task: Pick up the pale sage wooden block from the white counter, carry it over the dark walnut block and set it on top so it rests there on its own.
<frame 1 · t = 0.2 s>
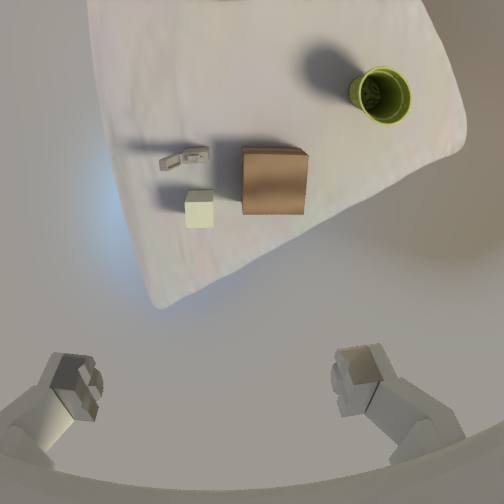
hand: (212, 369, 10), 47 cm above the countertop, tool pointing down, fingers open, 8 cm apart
plant pot: (364, 93, 49), on the countertop
walnut block: (270, 175, 55), on the countertop
lighter: (188, 152, 52), on the countertop
sage block: (201, 202, 57), on the countertop
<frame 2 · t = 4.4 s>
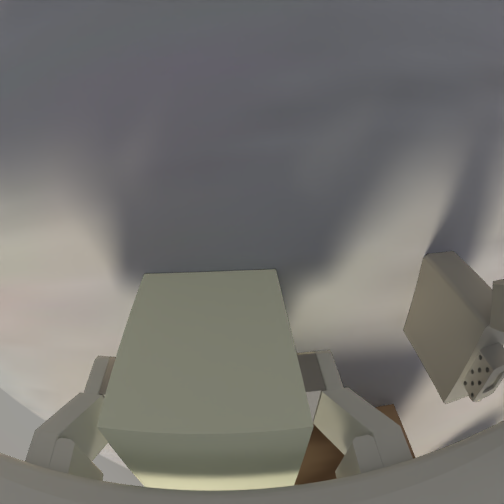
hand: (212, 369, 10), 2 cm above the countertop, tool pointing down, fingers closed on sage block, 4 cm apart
walnut block: (298, 449, 18), on the countertop
lighter: (435, 262, 12), on the countertop
sage block: (213, 322, 12), on the countertop, touching gripper
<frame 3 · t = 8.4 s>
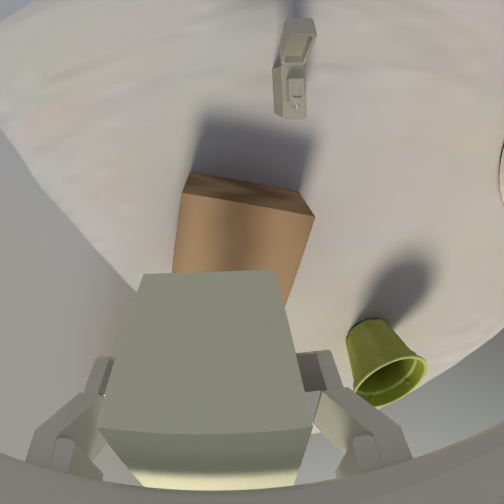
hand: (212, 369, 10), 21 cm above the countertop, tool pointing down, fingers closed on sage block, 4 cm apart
plant pot: (366, 334, 39), on the countertop
walnut block: (234, 230, 31), on the countertop
lighter: (282, 74, 24), on the countertop
sage block: (213, 322, 12), point 18 cm above the countertop, touching gripper
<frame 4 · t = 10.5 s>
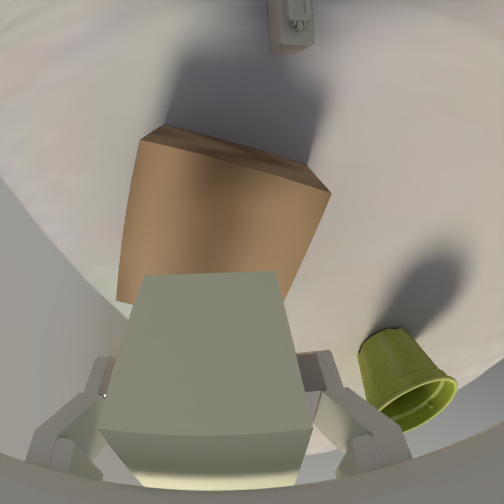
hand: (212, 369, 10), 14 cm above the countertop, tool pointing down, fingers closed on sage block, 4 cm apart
plant pot: (383, 346, 31), on the countertop
walnut block: (215, 210, 23), on the countertop
lighter: (280, 4, 16), on the countertop
sage block: (213, 323, 12), point 12 cm above the countertop, touching gripper
when the fingers open (10 cm above the countertop, at t = 12.3 s): sage block drops 2 cm, resting on walnut block.
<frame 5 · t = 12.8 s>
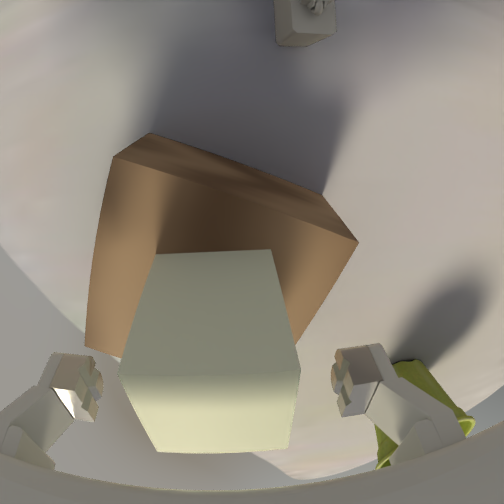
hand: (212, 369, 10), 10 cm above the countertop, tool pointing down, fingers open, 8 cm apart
plant pot: (395, 377, 27), on the countertop
walnut block: (207, 240, 19), on the countertop, touching sage block
sage block: (216, 298, 13), point 6 cm above the countertop, touching walnut block
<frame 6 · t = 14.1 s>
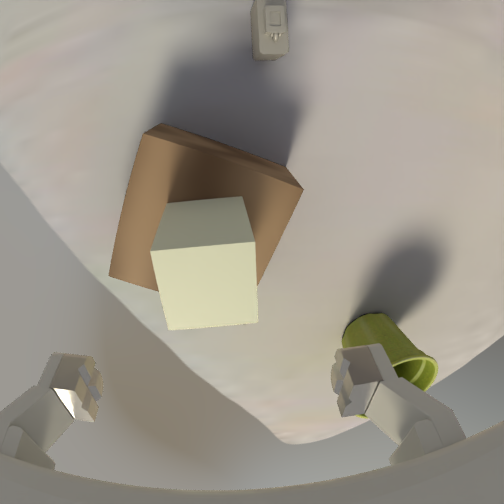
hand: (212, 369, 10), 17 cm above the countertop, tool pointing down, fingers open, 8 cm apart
plant pot: (366, 331, 34), on the countertop
walnut block: (201, 202, 25), on the countertop
lighter: (262, 17, 18), on the countertop
sage block: (207, 233, 20), point 6 cm above the countertop
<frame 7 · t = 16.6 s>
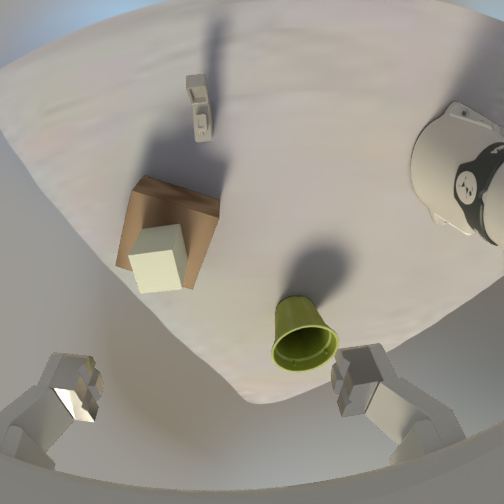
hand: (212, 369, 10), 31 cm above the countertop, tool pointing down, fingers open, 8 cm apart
plant pot: (294, 309, 49), on the countertop
walnut block: (171, 221, 41), on the countertop
lighter: (203, 106, 34), on the countertop
sage block: (164, 244, 36), point 6 cm above the countertop
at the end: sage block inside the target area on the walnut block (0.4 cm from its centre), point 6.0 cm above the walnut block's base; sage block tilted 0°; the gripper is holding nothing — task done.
